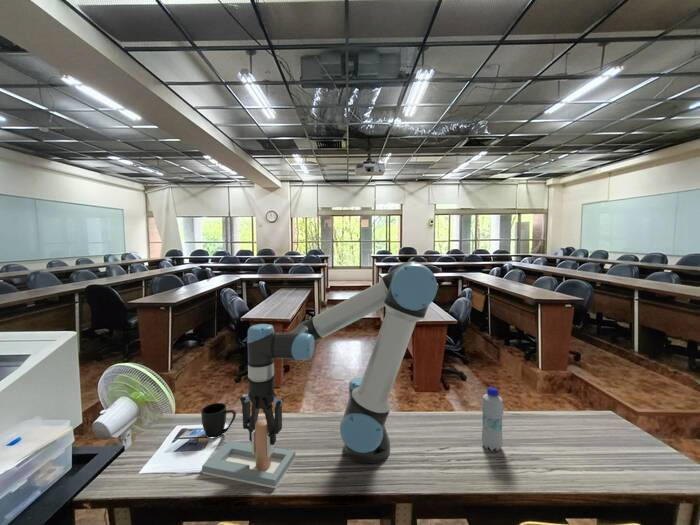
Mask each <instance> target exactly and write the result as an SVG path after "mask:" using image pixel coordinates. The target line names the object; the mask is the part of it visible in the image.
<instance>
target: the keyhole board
mask: <svg viewBox="0 0 700 525" xmlns="http://www.w3.org/2000/svg"><path fill="white" fill-rule="evenodd" d="M295 460H296V450H290V449H284V448H279V447H274V452H273V453H272V454H271V465H270V467H268V468H267V469H264V470H259V469H257V468H256V453H255V454H252V443H248V442H243V441H237V440H236V441H235V440H228V441H227V442H226V443H224V444H223V445H222V447H220V448H219V449H218V450H217V451H216V452H215V453H214V454H213V455H212V456H211V457H210V458H209V459H208V460H207V461H205V462H204V463H203V465H202V466H201V467H202V468H201V470H202V472H201V474H203V475H207V476H208V475H209V476H214V477H217V478H223V479H227V480H233V481H237V482H240V483H241V482H243V483H246V484H247V483H248V484H252V485H256V486H262V487H267V488H271V489H277V487H278V486H279V484H280V483H281V481H282V480H283V478H284V477H285V475H286V473H287V472H288V471H289V469H290V467H291V466H292V465H293V463H294V461H295Z"/></svg>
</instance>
